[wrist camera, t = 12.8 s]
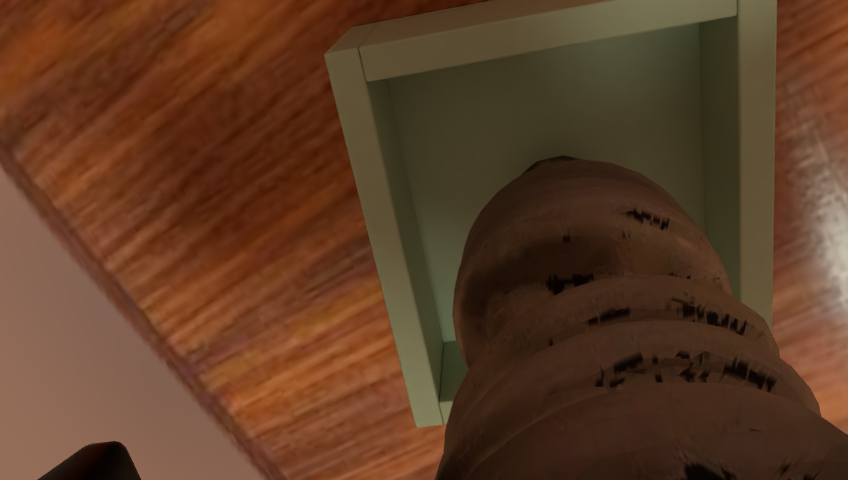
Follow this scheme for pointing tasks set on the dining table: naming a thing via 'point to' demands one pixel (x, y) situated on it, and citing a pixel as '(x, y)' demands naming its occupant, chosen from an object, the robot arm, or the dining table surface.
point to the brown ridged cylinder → (617, 346)
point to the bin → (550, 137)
